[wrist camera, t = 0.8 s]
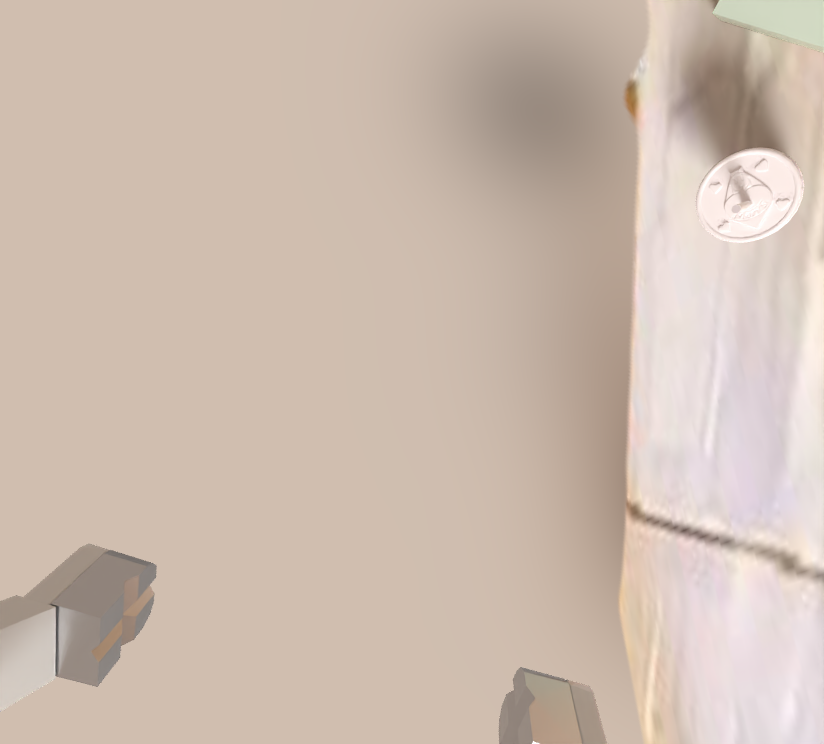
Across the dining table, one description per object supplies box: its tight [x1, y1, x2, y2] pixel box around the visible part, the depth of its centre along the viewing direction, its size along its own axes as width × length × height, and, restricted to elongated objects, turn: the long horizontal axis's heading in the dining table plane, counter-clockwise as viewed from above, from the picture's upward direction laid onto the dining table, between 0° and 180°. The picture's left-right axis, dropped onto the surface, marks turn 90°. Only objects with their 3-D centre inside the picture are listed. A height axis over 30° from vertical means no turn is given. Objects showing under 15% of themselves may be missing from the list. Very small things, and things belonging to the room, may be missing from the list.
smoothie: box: [696, 147, 804, 243], centre depth 37 cm, size 6×6×14 cm
